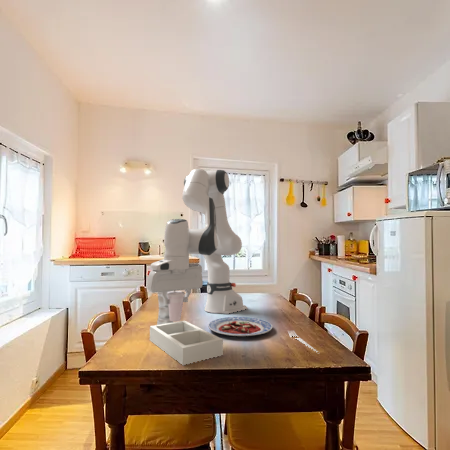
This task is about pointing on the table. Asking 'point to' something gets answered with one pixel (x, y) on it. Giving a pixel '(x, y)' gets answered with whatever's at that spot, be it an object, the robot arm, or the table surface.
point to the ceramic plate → (240, 326)
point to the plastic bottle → (163, 311)
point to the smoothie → (175, 305)
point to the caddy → (186, 342)
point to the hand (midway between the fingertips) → (175, 302)
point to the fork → (301, 340)
